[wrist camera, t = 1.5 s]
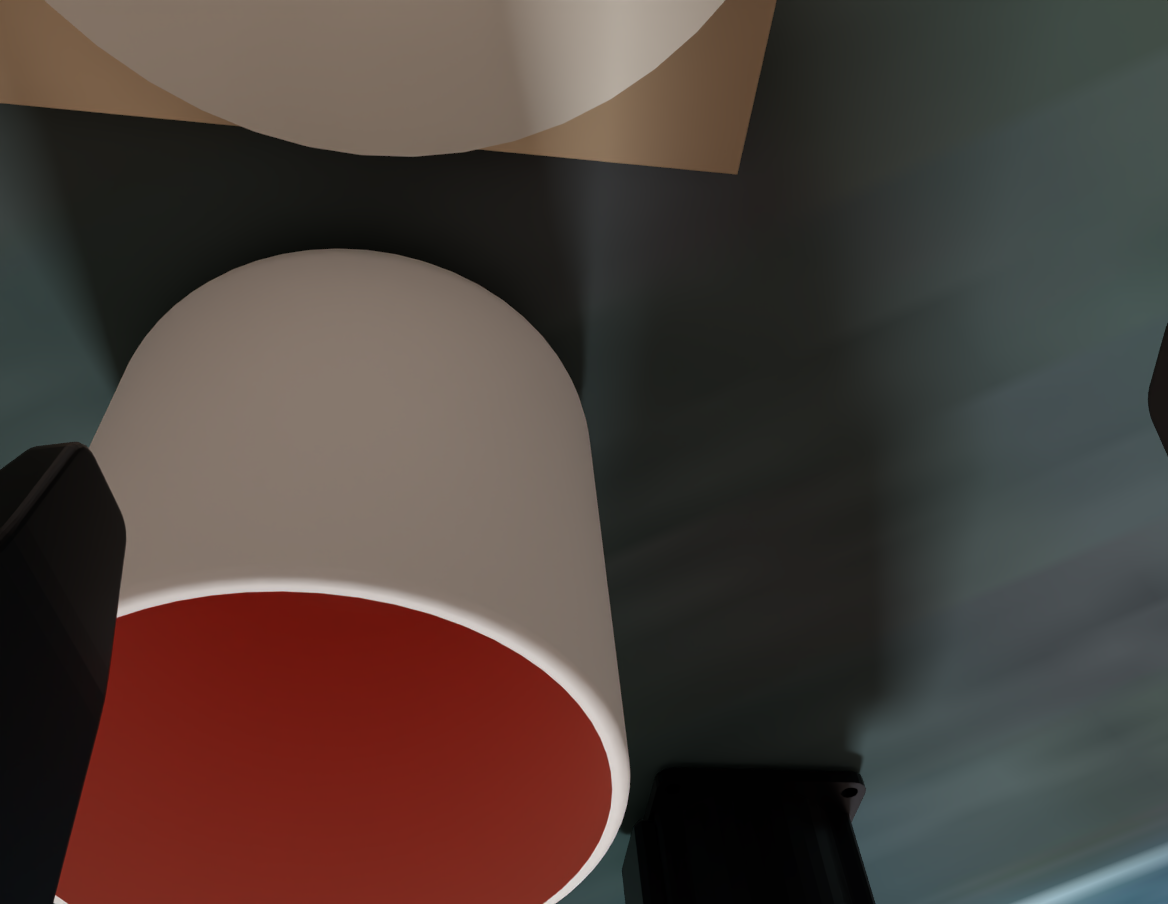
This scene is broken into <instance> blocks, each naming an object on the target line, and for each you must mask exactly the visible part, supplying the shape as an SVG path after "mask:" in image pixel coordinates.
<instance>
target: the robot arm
mask: <svg viewBox="0 0 1168 904" xmlns="http://www.w3.org/2000/svg"><path fill="white" fill-rule="evenodd" d="M1148 406H1149V412H1150V416H1151V419H1152V422H1153V424H1154V426H1155V428H1156V431H1157V433H1158V435H1159V437H1160V440H1161V442H1162V444H1163V446H1164V449H1165V451H1166V453H1167V455H1168V323H1167V326H1166V329H1165V333H1164V336H1163V340H1162V343H1161V347H1160V351H1159V354H1158V358H1157V361H1156V365H1155V369H1154V372H1153V376H1152V379H1151V383H1150V387H1149V392H1148ZM125 549H126V527H125V522H124V518H123V515H122V513H121V510H120V508H119V506H118V504H117V502H116V500H115V498H114V496H113V494H112V492H111V490H110V487H109V485H108V483H107V481H106V479H105V477H104V475H103V473H102V471H101V469H100V467H99V465H98V463H97V460H96V458H95V457H94V455H93V453H92V452H91V450H90V449H89V448H88V447H87V446H85V445H83V444H81V443H79V442H69V443H60V444H52V445H43V446H36V447H33V448H30V449H28V450H27V451H25V452H24V453H22V454H21V455H20V456H18V457H17V458H16V459H14V460H13V461H11V462H10V463H9V464H7V465H6V466H5V467H3V468H2V469H1V470H0V904H53V902H54V898H55V895H56V891H57V887H58V883H59V879H60V875H61V871H62V867H63V864H64V860H65V856H66V852H67V848H68V844H69V840H70V836H71V833H72V829H73V825H74V821H75V817H76V813H77V809H78V805H79V802H80V798H81V794H82V790H83V786H84V782H85V778H86V774H87V770H88V767H89V763H90V759H91V755H92V751H93V747H94V743H95V739H96V736H97V732H98V728H99V724H100V719H101V715H102V711H103V706H104V702H105V697H106V691H107V685H108V679H109V673H110V665H111V657H112V650H113V642H114V634H115V627H116V619H117V611H118V603H119V596H120V588H121V580H122V573H123V565H124V557H125ZM865 791H866V788H865V785H864V782H863V779H862V777H861V775H860V774H858V773H856V772H850V771H805V770H760V769H715V768H667V769H664V770H662V771H660V772H659V773H658V774H657V775H656V777H655V780H654V783H653V787H652V791H651V794H650V798H649V802H648V805H647V809H646V812H645V816H644V820H639V821H638V822H637V823H636V824H635V825H634V826H633V830H632V833H631V837H630V841H629V845H628V848H627V852H626V856H625V860H624V863H623V867H622V876H623V885H624V895H625V904H875V901H874V897H873V894H872V891H871V887H870V884H869V881H868V877H867V874H866V871H865V867H864V864H863V861H862V857H861V854H860V851H859V847H858V844H857V840H856V837H855V834H854V830H853V827H852V824H851V822H852V820H853V818H854V816H855V814H856V812H857V810H858V807H859V805H860V803H861V801H862V799H863V797H864V795H865Z"/></svg>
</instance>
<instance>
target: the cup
mask: <svg viewBox="0 0 1168 904" xmlns="http://www.w3.org/2000/svg"><path fill="white" fill-rule="evenodd" d="M89 449H90V450H91V452H92V453H93V455H94V457H95V458H96V460H97V463H98V465H99V467H100V469H101V471H102V473H103V475H104V477H105V479H106V481H107V483H108V485H109V487H110V490H111V492H112V494H113V496H114V498H115V500H116V502H117V504H118V506H119V508H120V510H121V513H122V515H123V518H124V522H125V527H126V549H125V557H124V565H123V573H122V580H121V588H120V596H119V603H118V611H117V619H116V627H115V634H114V642H113V650H112V657H111V665H110V673H109V679H108V685H107V691H106V697H105V702H104V706H103V711H102V715H101V719H100V724H99V728H98V732H97V736H96V739H95V743H94V747H93V751H92V755H91V759H90V763H89V767H88V770H87V774H86V778H85V782H84V786H83V790H82V794H81V798H80V802H79V805H78V809H77V813H76V817H75V821H74V825H73V829H72V833H71V836H70V840H69V844H68V848H67V852H66V856H65V860H64V864H63V867H62V871H61V875H60V879H59V883H58V887H57V891H56V895H55V898H54V903H55V904H555V903H557V902H558V901H559V900H561V899H562V898H563V897H565V896H566V895H567V894H568V893H570V892H571V891H572V890H573V889H574V888H575V887H576V886H578V885H579V884H580V883H581V882H582V881H583V880H584V879H585V878H586V877H587V875H588V874H589V873H590V872H591V871H592V870H593V869H594V868H595V867H596V865H597V864H598V863H599V861H600V860H601V859H602V857H603V856H604V855H605V853H606V852H607V850H608V848H609V847H610V845H611V843H612V842H613V840H614V838H615V836H616V834H617V832H618V830H619V827H620V825H621V823H622V820H623V817H624V813H625V810H626V807H627V802H628V796H629V789H630V764H629V754H628V746H627V738H626V730H625V722H624V714H623V706H622V698H621V689H620V681H619V673H618V665H617V657H616V649H615V641H614V633H613V625H612V617H611V609H610V601H609V593H608V585H607V577H606V569H605V560H604V552H603V544H602V536H601V528H600V520H599V512H598V504H597V496H596V488H595V479H594V471H593V463H592V455H591V447H590V439H589V433H588V427H587V422H586V418H585V415H584V412H583V408H582V405H581V402H580V399H579V396H578V393H577V391H576V389H575V387H574V384H573V382H572V380H571V378H570V376H569V374H568V372H567V371H566V369H565V367H564V366H563V364H562V362H561V361H560V359H559V357H558V356H557V354H556V353H555V352H554V350H553V349H552V348H551V347H550V345H549V344H548V343H547V341H546V340H545V339H544V338H543V336H542V335H541V334H540V333H539V332H538V331H537V330H536V329H535V328H534V327H533V326H532V325H531V324H530V323H529V322H528V321H527V320H526V319H525V318H524V317H523V316H522V315H521V314H519V313H518V312H517V311H516V310H515V309H513V308H512V307H511V306H510V305H508V304H507V303H506V302H505V301H503V300H502V299H500V298H499V297H497V296H496V295H494V294H493V293H491V292H489V291H488V290H486V289H485V288H483V287H482V286H480V285H478V284H476V283H474V282H472V281H470V280H468V279H466V278H464V277H462V276H460V275H458V274H456V273H454V272H452V271H449V270H446V269H444V268H441V267H438V266H435V265H433V264H430V263H427V262H424V261H421V260H417V259H413V258H409V257H405V256H401V255H397V254H392V253H385V252H378V251H371V250H359V249H319V250H305V251H299V252H293V253H286V254H280V255H276V256H273V257H269V258H265V259H261V260H257V261H254V262H251V263H249V264H246V265H243V266H241V267H238V268H235V269H233V270H231V271H229V272H227V273H225V274H223V275H221V276H219V277H217V278H215V279H213V280H211V281H209V282H207V283H205V284H204V285H202V286H201V287H199V288H198V289H196V290H194V291H193V292H191V293H190V294H189V295H187V296H186V297H185V298H184V299H182V300H181V301H180V302H178V303H177V304H176V305H175V306H174V307H172V308H171V309H170V310H169V311H168V312H167V313H166V314H165V315H164V316H163V317H162V318H161V319H160V320H159V321H158V322H157V323H156V325H155V326H154V327H153V328H152V329H151V330H150V332H149V333H148V334H147V335H146V336H145V338H144V339H143V341H142V342H141V344H140V345H139V347H138V348H137V350H136V351H135V353H134V355H133V356H132V358H131V360H130V362H129V364H128V366H127V368H126V370H125V372H124V374H123V376H122V378H121V381H120V383H119V385H118V387H117V389H116V391H115V393H114V396H113V398H112V400H111V402H110V404H109V406H108V408H107V411H106V413H105V415H104V417H103V419H102V421H101V423H100V425H99V428H98V430H97V432H96V434H95V436H94V438H93V440H92V443H91V445H90V447H89Z"/></svg>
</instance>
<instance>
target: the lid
mask: <svg viewBox="0 0 1168 904" xmlns="http://www.w3.org/2000/svg"><path fill="white" fill-rule="evenodd" d="M45 1H46V2H47V3H48V4H49V5H50V6H51V7H52V8H54V9H55V10H56V11H57V12H58V13H59V14H61V15H62V16H63V17H64V18H65V19H66V20H68V21H69V22H70V23H71V24H72V25H73V26H75V27H76V28H77V29H78V30H79V31H80V32H82V33H83V34H84V35H85V36H86V37H87V38H89V39H90V40H91V41H92V42H93V43H94V44H96V45H97V46H98V47H100V48H101V49H103V50H104V51H105V52H107V53H108V54H110V55H111V56H113V57H114V58H116V59H117V60H118V61H120V62H121V63H123V64H124V65H126V66H127V67H129V68H130V69H131V70H133V71H134V72H136V73H137V74H139V75H140V76H142V77H143V78H145V79H146V80H147V81H149V82H151V83H153V84H154V85H156V86H158V87H160V88H162V89H164V90H165V91H167V92H169V93H171V94H173V95H175V96H176V97H178V98H180V99H182V100H184V101H186V102H188V103H189V104H191V105H193V106H195V107H197V108H199V109H200V110H202V111H205V112H207V113H210V114H212V115H215V116H217V117H220V118H222V119H225V120H227V121H229V122H232V123H234V124H237V125H239V126H242V127H244V128H247V129H249V130H251V131H254V132H257V133H261V134H264V135H268V136H271V137H275V138H278V139H282V140H286V141H289V142H293V143H296V144H300V145H303V146H307V147H313V148H319V149H325V150H332V151H338V152H345V153H351V154H357V155H375V156H404V157H416V156H427V155H438V154H449V153H460V152H467V151H472V150H476V149H481V148H485V147H490V146H494V145H499V144H503V143H508V142H513V141H516V140H519V139H522V138H525V137H527V136H530V135H533V134H536V133H538V132H541V131H544V130H547V129H550V128H552V127H555V126H558V125H561V124H563V123H565V122H567V121H569V120H571V119H573V118H575V117H577V116H579V115H581V114H583V113H585V112H587V111H589V110H591V109H593V108H595V107H597V106H599V105H601V104H603V103H605V102H607V101H608V100H610V99H612V98H613V97H615V96H616V95H618V94H619V93H621V92H622V91H624V90H625V89H627V88H628V87H629V86H631V85H632V84H634V83H635V82H637V81H638V80H640V79H641V78H643V77H644V76H646V75H647V74H649V73H650V72H651V71H653V70H654V69H656V68H657V67H658V66H659V65H660V64H661V63H662V62H664V61H665V60H666V59H667V58H668V57H669V56H670V55H672V54H673V53H674V52H675V51H676V50H677V49H678V48H679V47H681V46H682V45H683V44H684V43H685V42H686V41H687V40H689V39H690V38H691V37H692V36H693V35H694V34H695V33H697V31H698V30H699V29H700V28H701V27H702V26H703V25H704V24H705V22H706V21H707V20H708V19H709V18H710V17H711V16H712V15H713V14H714V12H715V11H716V10H717V9H718V8H719V7H720V6H721V5H722V3H723V2H724V1H725V0H45Z"/></svg>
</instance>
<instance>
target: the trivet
mask: <svg viewBox="0 0 1168 904" xmlns="http://www.w3.org/2000/svg"><path fill="white" fill-rule="evenodd" d="M776 1H777V0H725V1H724V2H723V3H722V5H721V6H720V7H719V8H718V9H717V10H716V11H715V12H714V14H713V15H712V16H711V17H710V18H709V19H708V20H707V21H706V22H705V24H704V25H703V26H702V27H701V28H700V29H699V30H698V31H697V33H695V34H694V35H693V36H692V37H691V38H690V39H689V40H687V41H686V42H685V43H684V44H683V45H682V46H681V47H679V48H678V49H677V50H676V51H675V52H674V53H673V54H672V55H670V56H669V57H668V58H667V59H666V60H665V61H664V62H662V63H661V64H660V65H659V66H658V67H657V68H656V69H654V70H653V71H651V72H650V73H649V74H647V75H646V76H644V77H643V78H641V79H640V80H638V81H637V82H635V83H634V84H632V85H631V86H629V87H628V88H627V89H625V90H624V91H622V92H621V93H619V94H618V95H616V96H615V97H613V98H612V99H610V100H608V101H607V102H605V103H603V104H601V105H599V106H597V107H595V108H593V109H591V110H589V111H587V112H585V113H583V114H581V115H579V116H577V117H575V118H573V119H571V120H569V121H567V122H565V123H563V124H561V125H558V126H555V127H552V128H550V129H547V130H544V131H541V132H538V133H536V134H533V135H530V136H527V137H525V138H522V139H519V140H516V141H513V142H508V143H503V144H499V145H494V146H490V147H485V148H481V149H480V150H490V151H500V152H511V153H521V154H531V155H542V156H552V157H562V158H573V159H583V160H593V161H604V162H614V163H624V164H635V165H645V166H655V167H665V168H676V169H686V170H696V171H707V172H717V173H727V174H737V173H738V169H739V164H740V160H741V156H742V151H743V147H744V142H745V138H746V133H747V129H748V125H749V120H750V116H751V111H752V107H753V102H754V98H755V94H756V89H757V85H758V80H759V76H760V72H761V67H762V63H763V58H764V54H765V49H766V45H767V41H768V36H769V32H770V27H771V23H772V18H773V14H774V10H775V5H776ZM0 103H6V104H16V105H26V106H37V107H47V108H57V109H68V110H78V111H88V112H98V113H109V114H119V115H129V116H140V117H150V118H160V119H171V120H181V121H191V122H202V123H212V124H222V125H232V126H239V125H237V124H234V123H232V122H229V121H227V120H225V119H222V118H220V117H217V116H215V115H212V114H210V113H207V112H205V111H202V110H200V109H199V108H197V107H195V106H193V105H191V104H189V103H188V102H186V101H184V100H182V99H180V98H178V97H176V96H175V95H173V94H171V93H169V92H167V91H165V90H164V89H162V88H160V87H158V86H156V85H154V84H153V83H151V82H149V81H147V80H146V79H145V78H143V77H142V76H140V75H139V74H137V73H136V72H134V71H133V70H131V69H130V68H129V67H127V66H126V65H124V64H123V63H121V62H120V61H118V60H117V59H116V58H114V57H113V56H111V55H110V54H108V53H107V52H105V51H104V50H103V49H101V48H100V47H98V46H97V45H96V44H94V43H93V42H92V41H91V40H90V39H89V38H87V37H86V36H85V35H84V34H83V33H82V32H80V31H79V30H78V29H77V28H76V27H75V26H73V25H72V24H71V23H70V22H69V21H68V20H66V19H65V18H64V17H63V16H62V15H61V14H59V13H58V12H57V11H56V10H55V9H54V8H52V7H51V6H50V5H49V4H48V3H47V2H46V1H45V0H0Z"/></svg>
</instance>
